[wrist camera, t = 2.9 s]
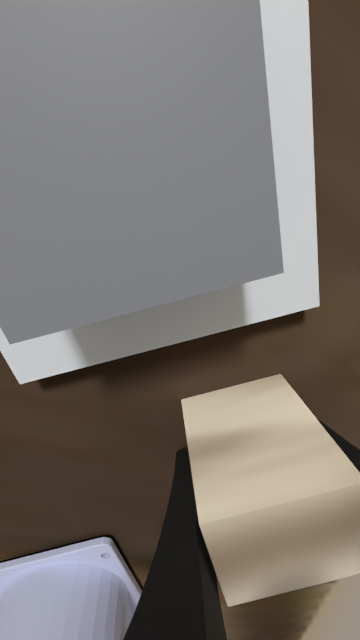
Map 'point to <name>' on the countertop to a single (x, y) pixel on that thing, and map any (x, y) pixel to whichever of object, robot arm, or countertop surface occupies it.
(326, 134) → the countertop surface
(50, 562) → the robot arm
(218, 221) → the white grey square pedestal
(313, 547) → the birch block
